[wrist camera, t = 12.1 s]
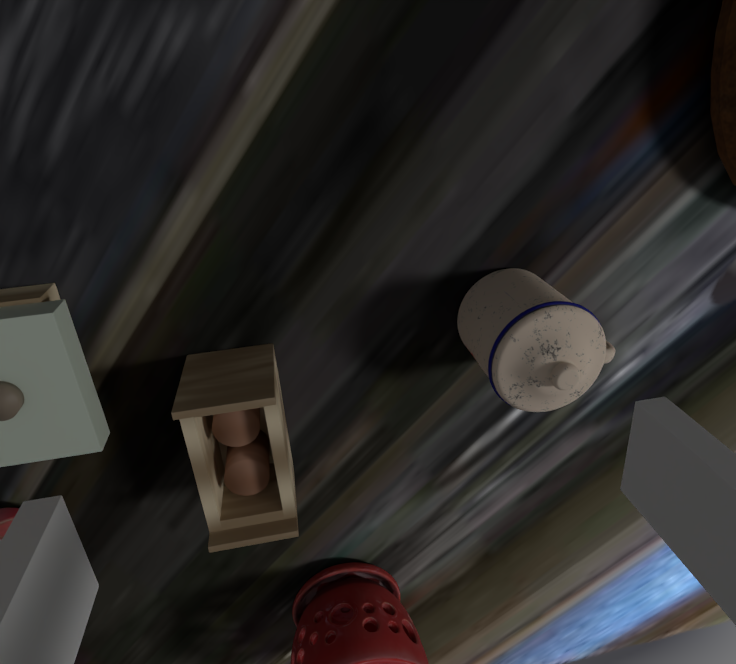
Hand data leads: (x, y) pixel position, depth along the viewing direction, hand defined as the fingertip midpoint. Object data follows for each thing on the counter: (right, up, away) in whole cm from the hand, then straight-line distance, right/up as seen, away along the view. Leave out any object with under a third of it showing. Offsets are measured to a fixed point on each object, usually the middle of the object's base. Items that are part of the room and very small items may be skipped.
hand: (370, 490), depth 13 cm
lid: (-26, 0, +27) cm, 38 cm away
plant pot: (-2, -25, +47) cm, 54 cm away
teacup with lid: (+13, +5, +36) cm, 39 cm away
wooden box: (-11, -4, +35) cm, 37 cm away
